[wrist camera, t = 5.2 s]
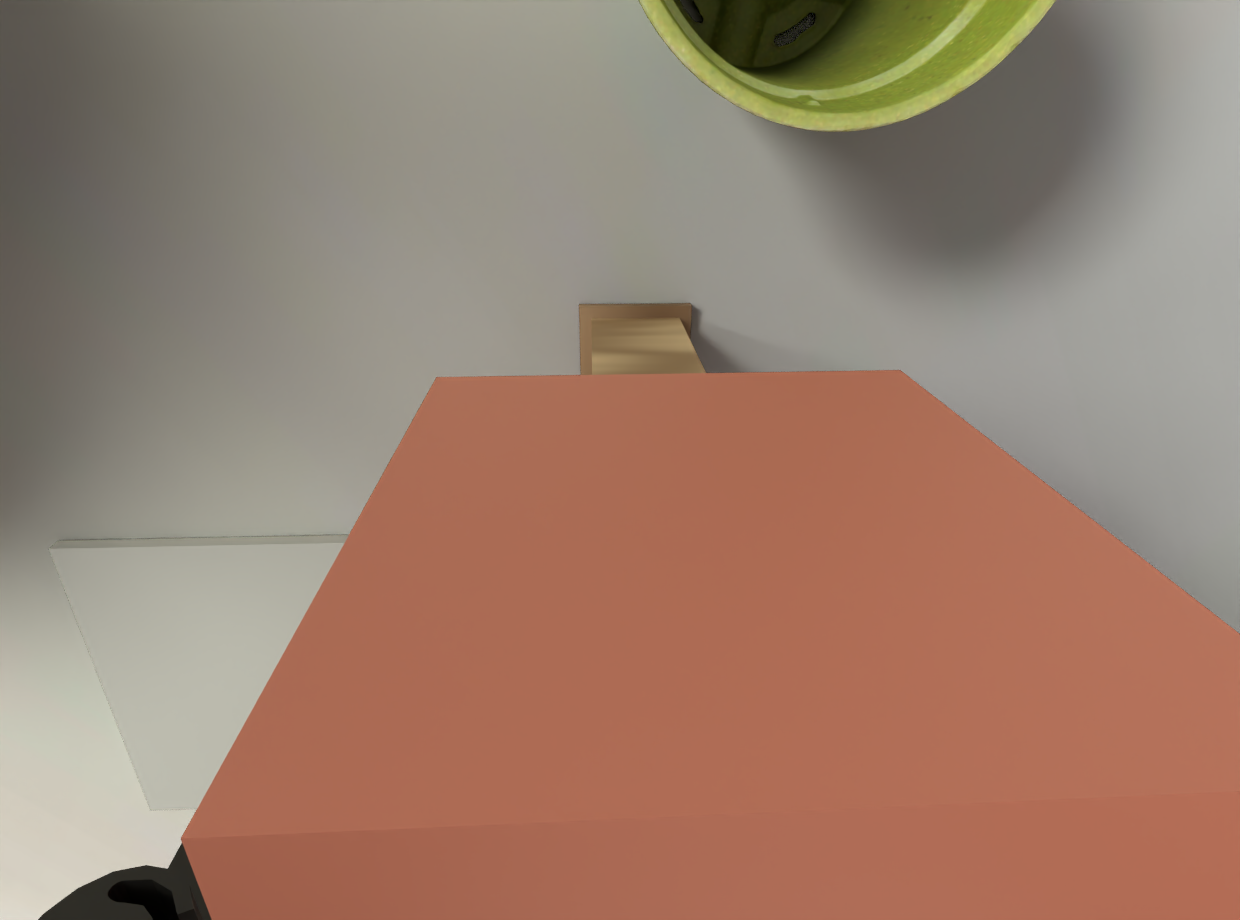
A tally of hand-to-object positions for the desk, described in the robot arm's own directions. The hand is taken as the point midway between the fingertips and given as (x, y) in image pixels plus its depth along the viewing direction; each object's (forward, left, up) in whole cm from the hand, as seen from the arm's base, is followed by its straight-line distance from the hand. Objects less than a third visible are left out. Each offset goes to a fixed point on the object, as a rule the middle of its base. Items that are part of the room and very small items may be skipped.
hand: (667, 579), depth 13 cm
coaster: (-15, -14, -14) cm, 25 cm away
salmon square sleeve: (0, 0, 0) cm, 0 cm away
